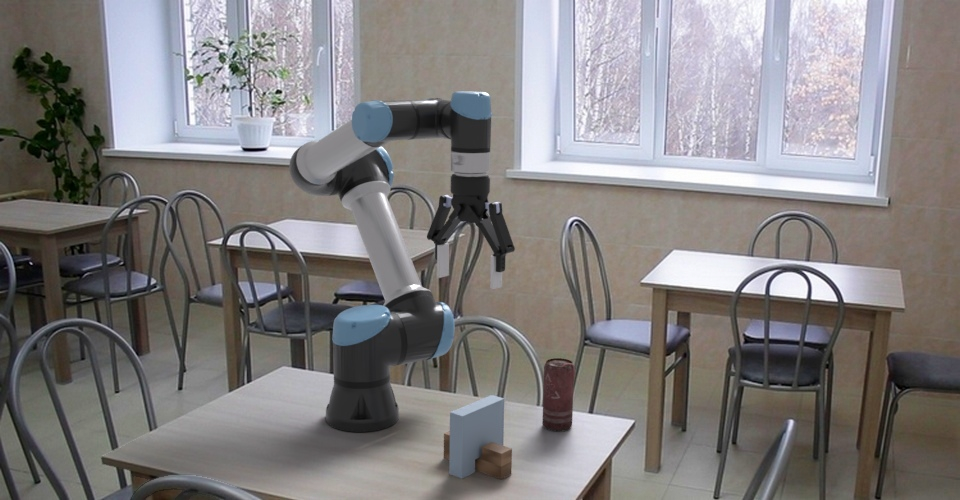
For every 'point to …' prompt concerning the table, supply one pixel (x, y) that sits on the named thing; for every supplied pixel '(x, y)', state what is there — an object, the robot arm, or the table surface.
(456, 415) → the pale blue upright slab
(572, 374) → the can
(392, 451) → the table surface
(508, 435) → the table surface
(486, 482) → the table surface
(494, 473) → the walnut u-shaped block
